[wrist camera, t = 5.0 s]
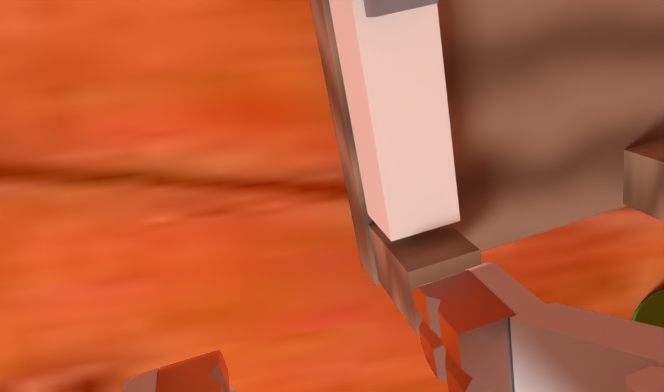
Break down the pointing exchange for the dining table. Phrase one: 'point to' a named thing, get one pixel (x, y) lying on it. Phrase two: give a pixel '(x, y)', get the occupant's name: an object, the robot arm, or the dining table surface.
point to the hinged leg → (398, 111)
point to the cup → (651, 310)
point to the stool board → (523, 128)
